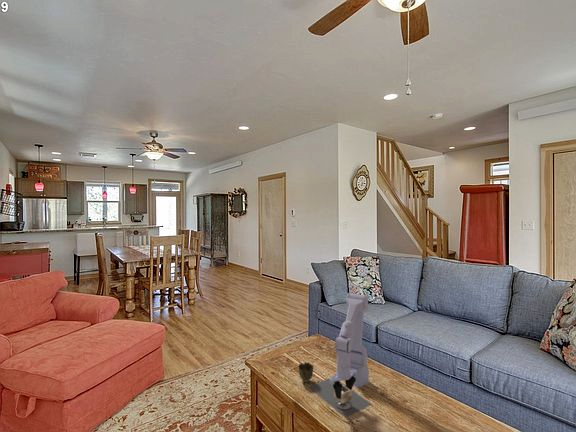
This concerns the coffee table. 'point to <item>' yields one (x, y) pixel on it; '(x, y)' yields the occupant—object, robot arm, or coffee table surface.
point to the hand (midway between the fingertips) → (343, 395)
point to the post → (343, 406)
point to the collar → (344, 395)
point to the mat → (327, 394)
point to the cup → (306, 372)
